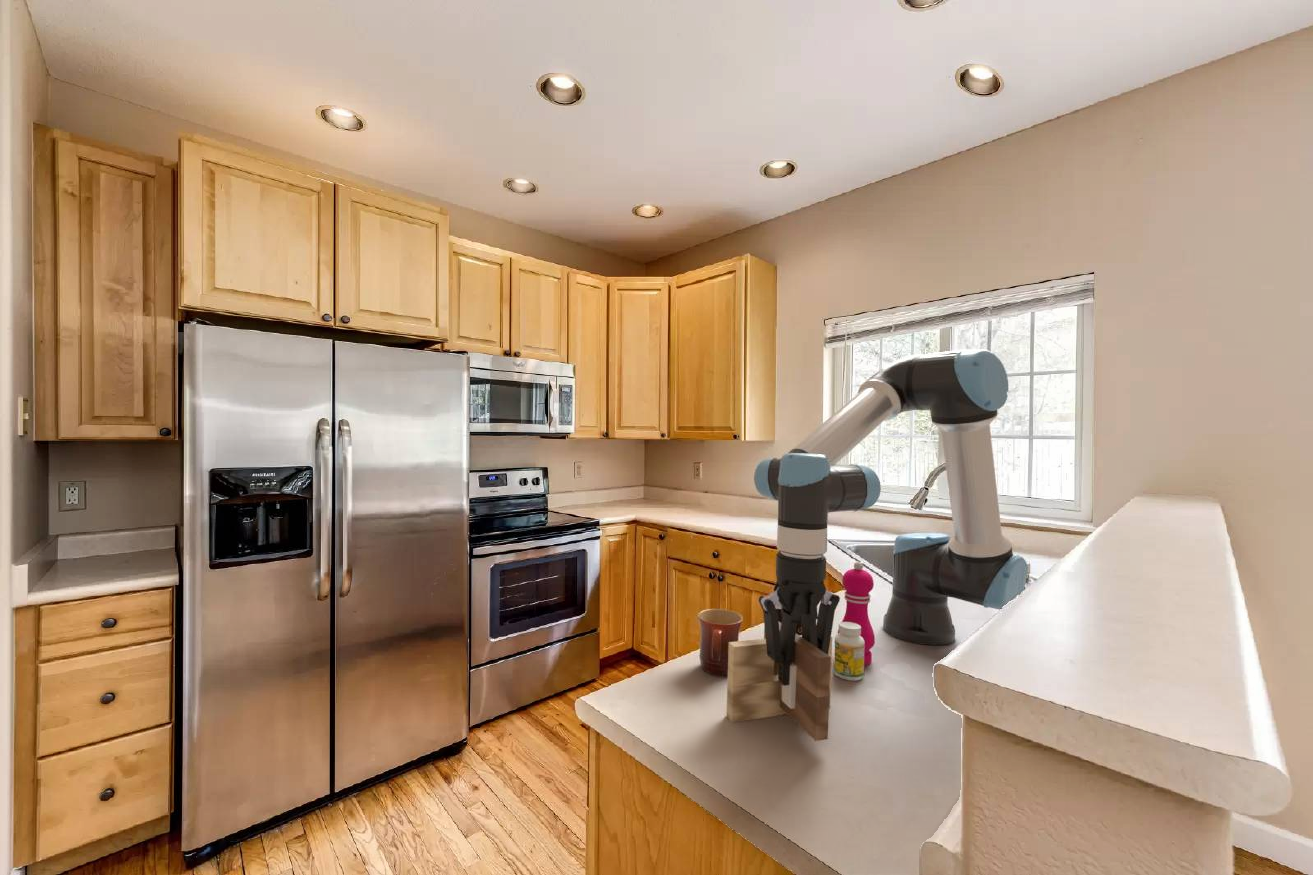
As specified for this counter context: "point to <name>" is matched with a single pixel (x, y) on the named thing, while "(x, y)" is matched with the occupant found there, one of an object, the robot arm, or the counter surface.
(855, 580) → the pepper mill
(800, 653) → the walnut board
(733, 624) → the mug
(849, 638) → the supplement bottle
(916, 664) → the counter surface
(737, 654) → the oak rail
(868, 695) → the counter surface
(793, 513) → the robot arm
